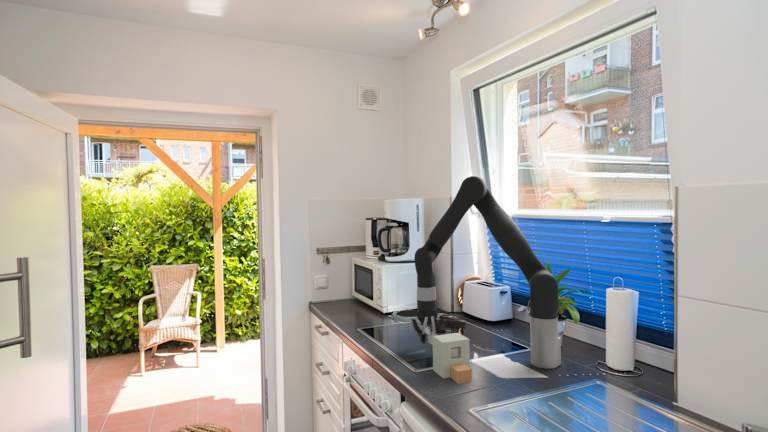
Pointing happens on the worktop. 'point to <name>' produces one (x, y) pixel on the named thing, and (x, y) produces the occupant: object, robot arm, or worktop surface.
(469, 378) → the block
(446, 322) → the toy gun
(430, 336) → the shaft
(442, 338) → the block
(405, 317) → the pale green frying pan
